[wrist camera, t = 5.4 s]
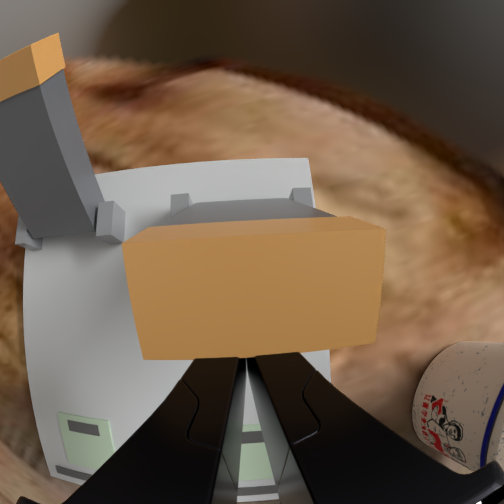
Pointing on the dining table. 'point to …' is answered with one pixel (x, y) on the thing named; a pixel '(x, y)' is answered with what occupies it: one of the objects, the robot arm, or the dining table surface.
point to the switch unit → (128, 316)
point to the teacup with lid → (463, 404)
